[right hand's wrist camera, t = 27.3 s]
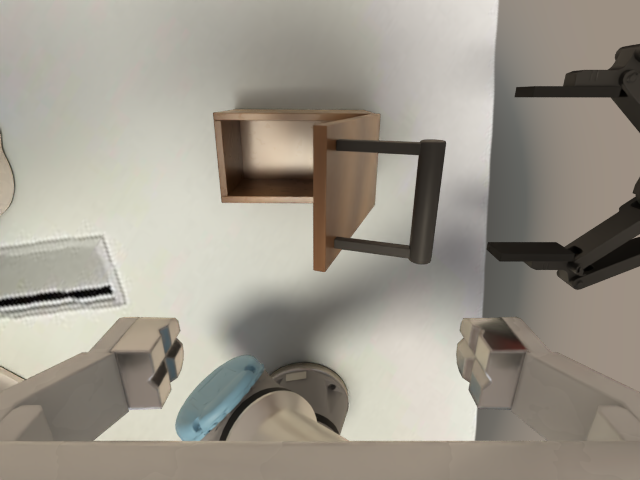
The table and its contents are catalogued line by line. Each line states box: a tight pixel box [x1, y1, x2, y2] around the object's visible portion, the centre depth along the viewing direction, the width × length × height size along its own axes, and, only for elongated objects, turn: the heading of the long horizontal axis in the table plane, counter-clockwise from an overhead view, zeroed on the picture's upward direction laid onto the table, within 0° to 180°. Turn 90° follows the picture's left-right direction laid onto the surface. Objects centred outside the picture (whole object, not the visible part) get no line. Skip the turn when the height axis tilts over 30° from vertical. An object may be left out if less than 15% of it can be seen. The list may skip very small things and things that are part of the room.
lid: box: [313, 114, 446, 272], centre depth 30 cm, size 18×10×8 cm
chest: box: [213, 109, 375, 203], centre depth 44 cm, size 17×10×10 cm, turn 90°
